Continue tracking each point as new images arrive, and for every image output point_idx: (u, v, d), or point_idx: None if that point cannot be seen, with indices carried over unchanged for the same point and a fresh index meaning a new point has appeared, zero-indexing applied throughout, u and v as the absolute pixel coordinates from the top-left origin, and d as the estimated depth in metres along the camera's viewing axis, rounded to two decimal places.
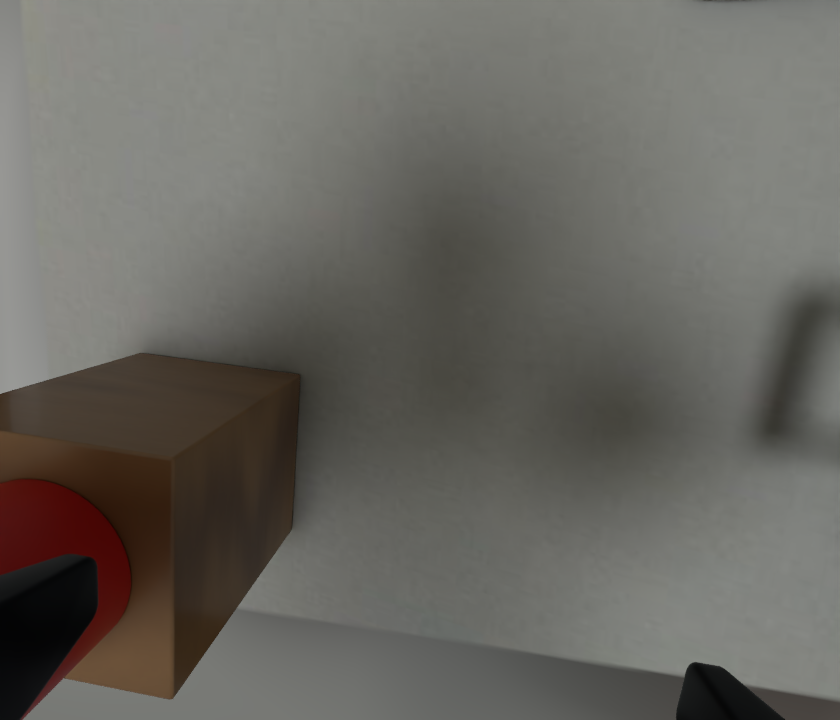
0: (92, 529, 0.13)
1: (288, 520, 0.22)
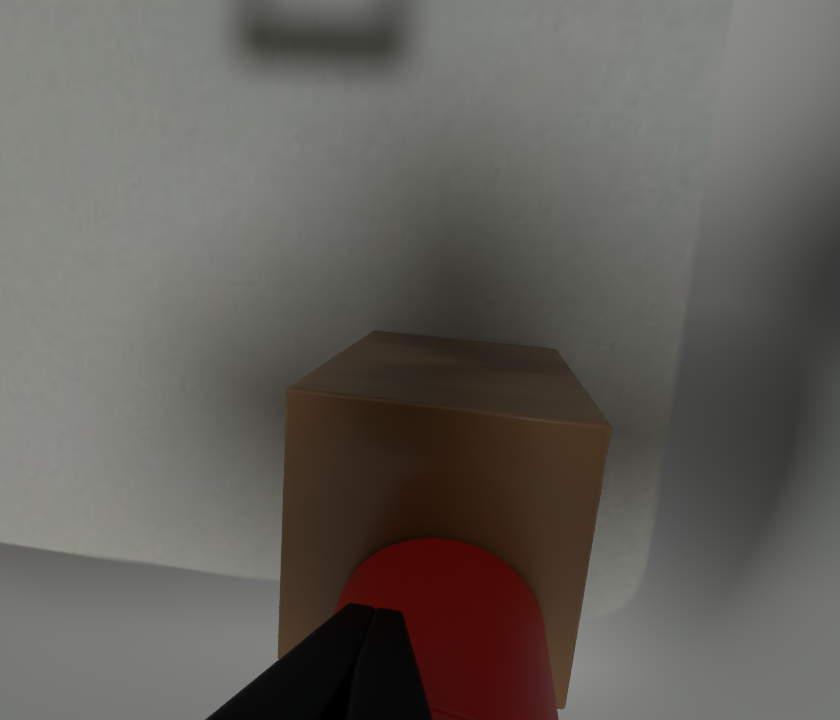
0: (373, 565, 0.11)
1: (538, 349, 0.19)
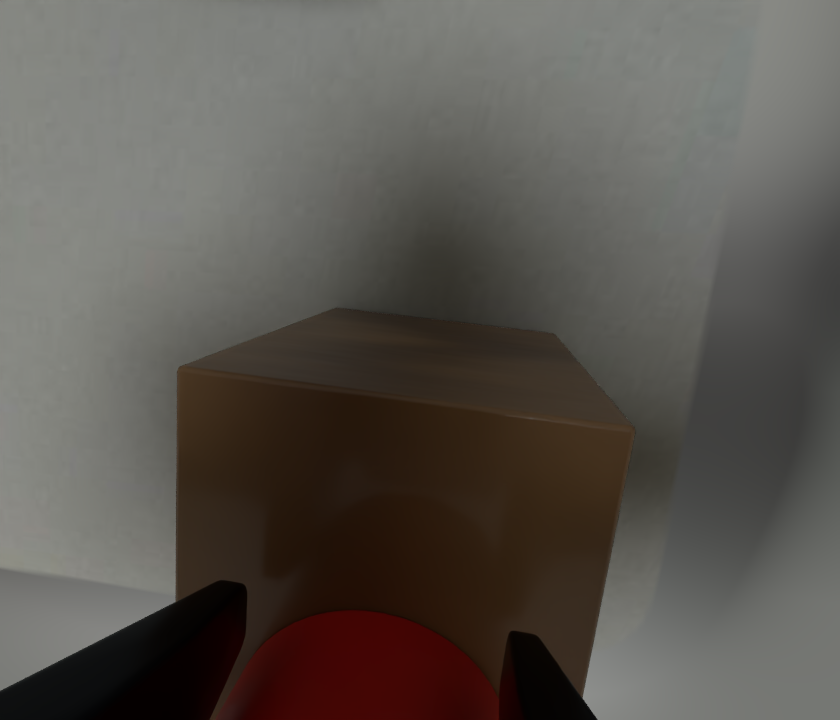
0: (282, 644, 0.08)
1: (532, 332, 0.16)
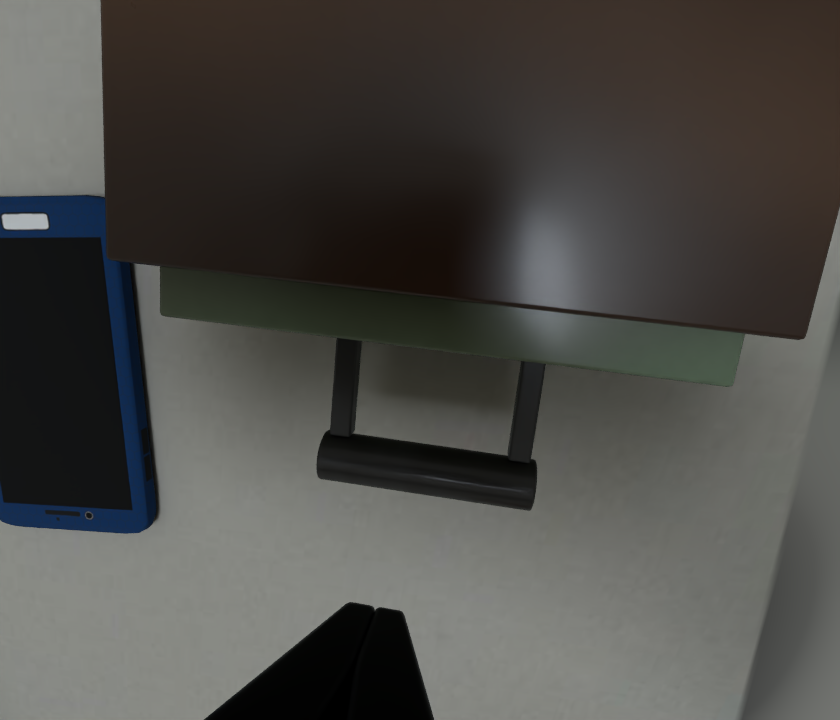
0: None
1: None
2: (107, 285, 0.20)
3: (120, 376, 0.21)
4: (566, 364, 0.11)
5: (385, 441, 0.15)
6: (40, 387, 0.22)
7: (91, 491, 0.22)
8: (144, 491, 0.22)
